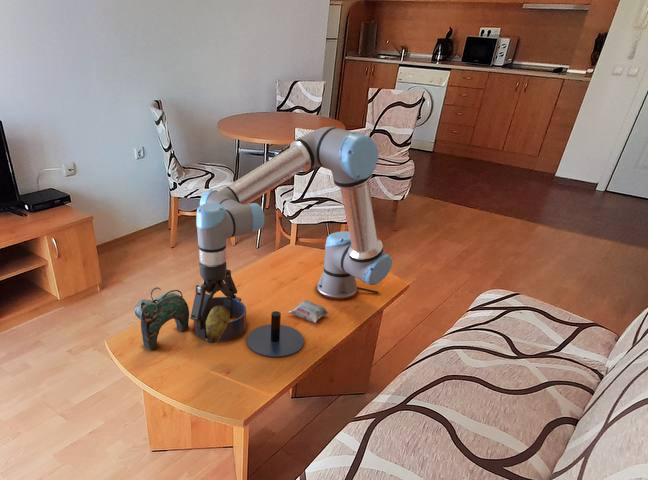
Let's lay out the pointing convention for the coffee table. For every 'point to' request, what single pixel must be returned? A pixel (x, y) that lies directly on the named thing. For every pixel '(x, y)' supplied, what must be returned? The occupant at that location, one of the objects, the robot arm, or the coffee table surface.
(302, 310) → the packaged food
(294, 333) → the lid
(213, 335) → the potato
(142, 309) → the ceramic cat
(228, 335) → the pot
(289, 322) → the coffee table surface
